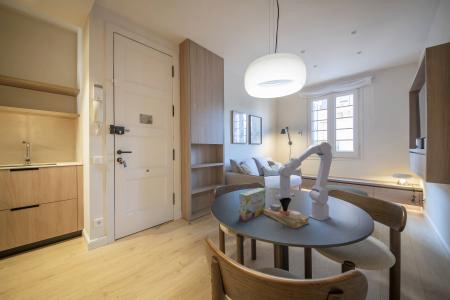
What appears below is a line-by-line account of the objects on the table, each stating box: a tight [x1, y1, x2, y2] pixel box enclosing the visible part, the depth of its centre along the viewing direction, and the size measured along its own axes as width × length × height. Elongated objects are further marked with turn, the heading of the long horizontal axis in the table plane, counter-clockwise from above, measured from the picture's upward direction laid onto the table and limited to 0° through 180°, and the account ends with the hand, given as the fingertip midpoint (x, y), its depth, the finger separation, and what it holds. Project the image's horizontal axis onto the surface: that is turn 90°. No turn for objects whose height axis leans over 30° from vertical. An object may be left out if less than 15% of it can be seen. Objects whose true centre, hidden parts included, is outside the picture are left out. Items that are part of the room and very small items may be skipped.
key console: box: [263, 206, 310, 229], centre depth 102 cm, size 12×22×3 cm, turn 30°
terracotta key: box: [279, 209, 291, 216], centre depth 102 cm, size 4×4×4 cm
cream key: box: [289, 210, 302, 220], centre depth 95 cm, size 4×4×4 cm
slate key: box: [270, 203, 282, 212], centre depth 108 cm, size 4×4×4 cm
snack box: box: [238, 187, 267, 222], centre depth 106 cm, size 21×6×15 cm, turn 137°
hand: (284, 210), depth 102 cm, fingers closed, pressing on terracotta key
